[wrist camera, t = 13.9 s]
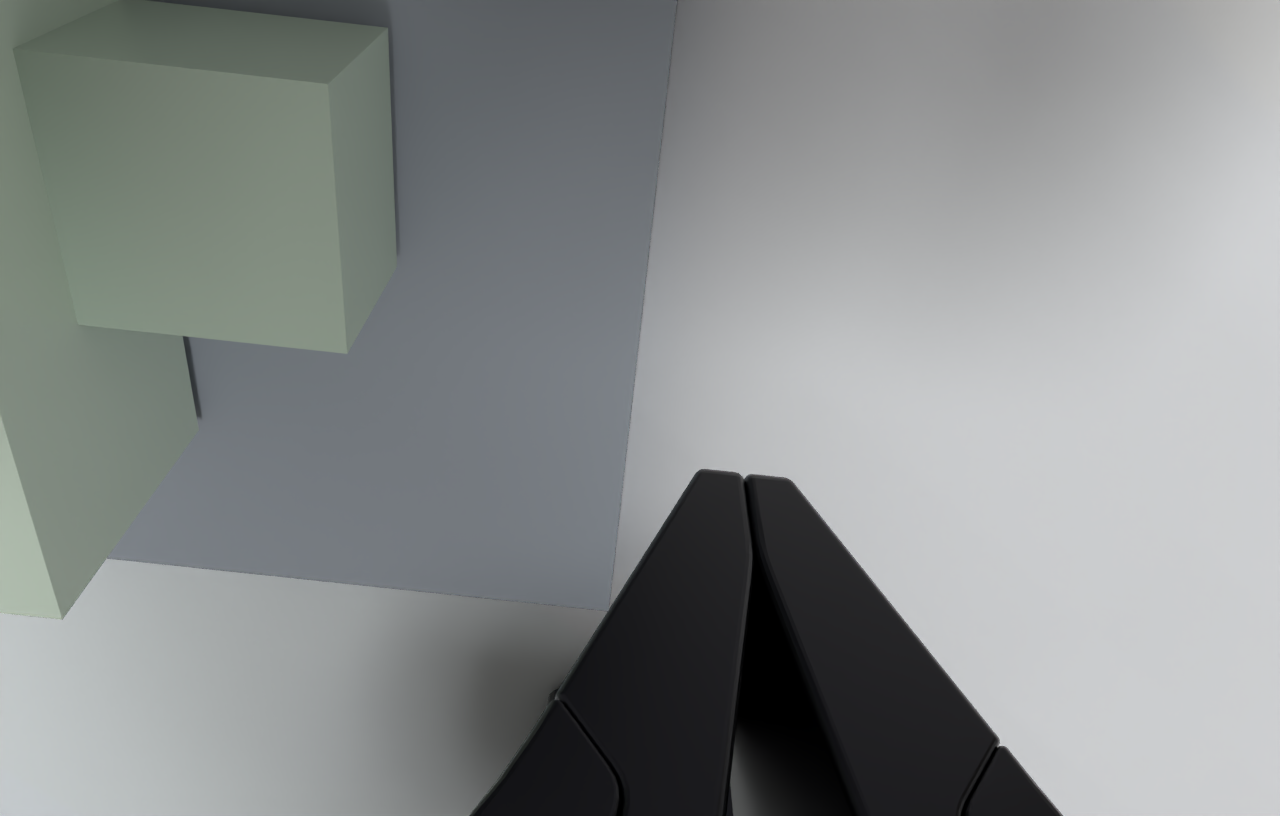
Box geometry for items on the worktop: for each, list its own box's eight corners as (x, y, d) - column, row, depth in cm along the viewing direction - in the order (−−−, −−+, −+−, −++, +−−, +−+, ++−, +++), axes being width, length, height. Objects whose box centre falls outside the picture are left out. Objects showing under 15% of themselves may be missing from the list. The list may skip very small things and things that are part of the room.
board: (612, 573, 23) (597, 721, 20) (-265, 481, 23) (-437, 614, 20) (748, -644, 12) (768, -795, 9) (-929, -852, 12) (-1596, -1093, 9)
